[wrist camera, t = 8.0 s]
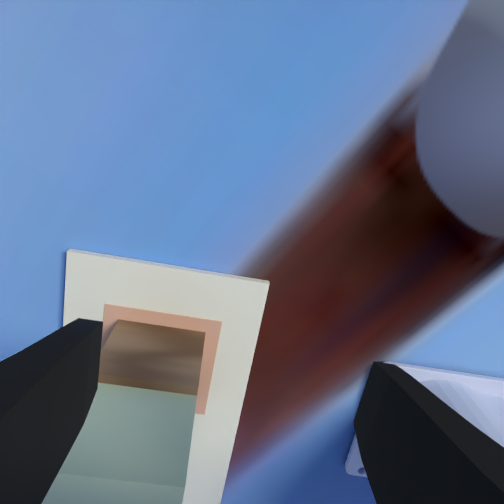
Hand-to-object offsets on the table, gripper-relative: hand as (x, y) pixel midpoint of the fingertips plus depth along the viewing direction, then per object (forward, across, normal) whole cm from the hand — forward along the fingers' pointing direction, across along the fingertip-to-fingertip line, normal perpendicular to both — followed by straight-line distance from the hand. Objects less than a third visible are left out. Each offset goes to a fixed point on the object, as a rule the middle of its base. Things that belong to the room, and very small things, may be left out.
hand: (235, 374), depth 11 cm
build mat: (+10, +3, +10) cm, 15 cm away
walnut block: (+10, +3, +7) cm, 13 cm away
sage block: (+5, +3, +7) cm, 10 cm away
